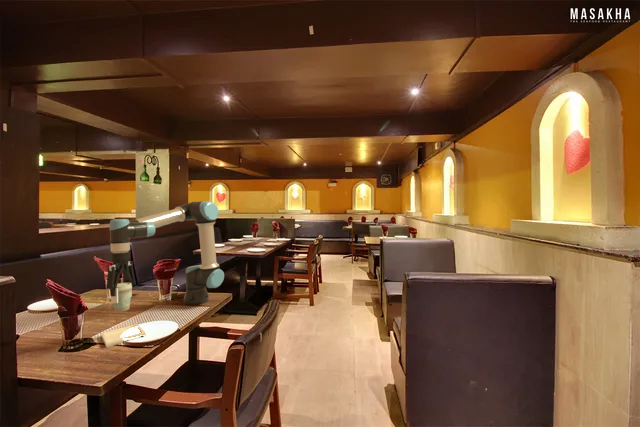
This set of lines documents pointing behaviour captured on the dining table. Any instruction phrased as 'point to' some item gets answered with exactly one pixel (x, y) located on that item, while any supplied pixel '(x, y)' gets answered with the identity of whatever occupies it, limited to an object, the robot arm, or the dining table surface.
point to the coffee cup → (123, 297)
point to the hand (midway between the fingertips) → (121, 299)
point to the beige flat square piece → (118, 335)
